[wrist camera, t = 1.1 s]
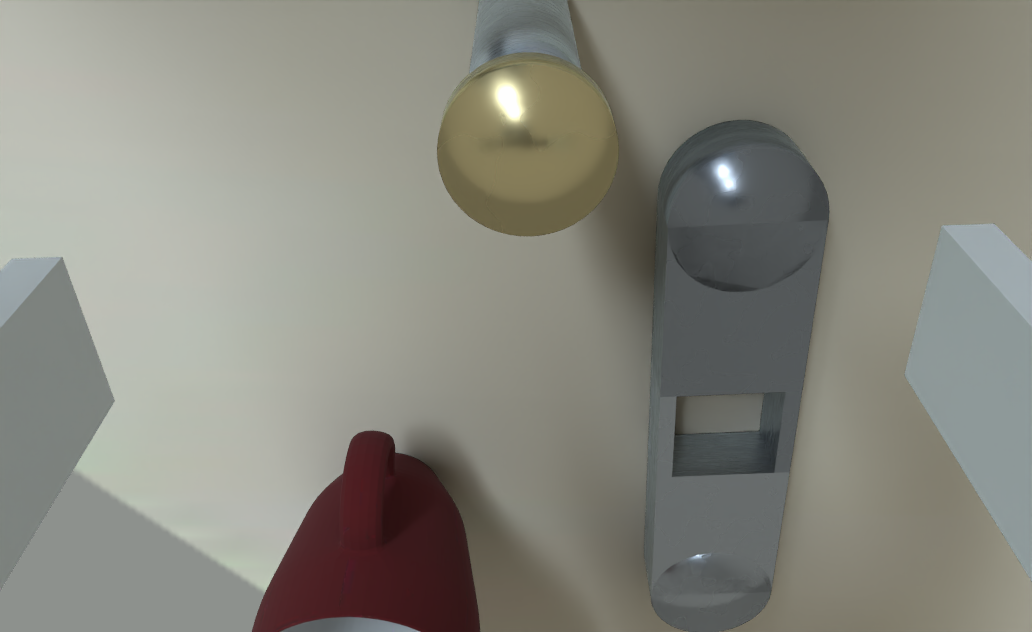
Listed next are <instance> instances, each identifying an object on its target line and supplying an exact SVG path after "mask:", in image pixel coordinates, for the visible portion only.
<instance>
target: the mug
mask: <svg viewBox="0 0 1032 632" xmlns="http://www.w3.org/2000/svg"><path fill="white" fill-rule="evenodd" d="M252 632H480V623H479V613H478V606H477V599H476V593H475V587H474V581H473V575H472V569H471V563H470V557H469V551H468V544H467V538H466V533H465V529H464V525H463V521H462V518H461V516H460V513H459V511H458V509H457V507H456V505H455V503H454V501H453V500H452V498H451V496H450V495H449V493H448V492H447V490H446V489H445V487H444V486H443V485H442V483H441V482H440V480H439V479H438V477H437V476H436V475H435V473H434V472H433V471H432V470H431V469H430V468H429V467H428V466H427V465H426V464H424V463H423V462H421V461H420V460H418V459H416V458H414V457H411V456H408V455H404V454H399V453H395V444H394V440H393V438H392V437H391V436H390V435H389V434H386V433H384V432H380V431H364V432H361V433H358V434H357V435H356V436H354V437H353V439H352V440H351V442H350V445H349V448H348V452H347V457H346V461H345V466H344V472H343V474H342V475H340V476H339V477H338V478H337V479H335V480H334V481H333V482H332V483H331V484H330V485H329V486H328V487H326V488H325V489H324V491H323V492H322V493H321V494H320V495H319V496H318V497H317V499H316V500H315V501H314V503H313V504H312V506H311V507H310V509H309V511H308V512H307V514H306V516H305V518H304V520H303V522H302V523H301V525H300V527H299V529H298V531H297V533H296V535H295V537H294V539H293V540H292V542H291V544H290V546H289V548H288V550H287V552H286V554H285V555H284V557H283V559H282V561H281V563H280V565H279V567H278V569H277V571H276V572H275V574H274V576H273V578H272V580H271V582H270V584H269V586H268V588H267V590H266V592H265V595H264V597H263V599H262V602H261V604H260V607H259V610H258V613H257V616H256V619H255V622H254V626H253V629H252Z"/></svg>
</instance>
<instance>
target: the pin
mask: <svg viewBox="0 0 1032 632" xmlns="http://www.w3.org/2000/svg"><path fill="white" fill-rule="evenodd" d="M618 156H619V144H618V136H617V131H616V127H615V123H614V119H613V115H612V112H611V109H610V106H609V104H608V102H607V100H606V98H605V96H604V94H603V92H602V91H601V89H600V88H599V87H598V85H597V84H596V83H595V82H594V81H593V80H592V78H591V77H590V76H589V75H587V74H586V73H585V72H584V71H583V70H581V65H580V60H579V55H578V51H577V46H576V41H575V36H574V31H573V27H572V22H571V17H570V12H569V7H568V3H567V0H479V6H478V13H477V21H476V28H475V35H474V42H473V49H472V56H471V64H470V71H469V74H468V75H467V76H466V77H465V78H464V79H463V80H462V81H461V82H460V84H459V85H458V86H457V88H456V89H455V90H454V92H453V93H452V95H451V97H450V99H449V100H448V103H447V105H446V108H445V110H444V113H443V117H442V121H441V126H440V131H439V137H438V145H437V158H438V165H439V171H440V174H441V177H442V180H443V183H444V185H445V187H446V189H447V191H448V193H449V194H450V196H451V197H452V199H453V200H454V202H455V203H456V204H457V205H458V206H459V207H460V208H461V209H462V210H463V211H464V212H465V213H466V214H467V215H468V216H469V217H471V218H472V219H474V220H475V221H477V222H478V223H480V224H482V225H484V226H485V227H487V228H490V229H492V230H495V231H498V232H501V233H505V234H509V235H516V236H538V235H545V234H550V233H554V232H557V231H560V230H563V229H565V228H567V227H569V226H571V225H573V224H575V223H577V222H578V221H580V220H581V219H583V218H584V217H585V216H587V215H588V214H589V213H590V212H591V211H593V209H594V208H595V207H596V206H597V205H598V204H599V203H600V202H601V200H602V199H603V198H604V196H605V195H606V193H607V191H608V190H609V188H610V186H611V184H612V181H613V179H614V176H615V173H616V169H617V164H618Z"/></svg>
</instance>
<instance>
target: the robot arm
mask: <svg viewBox="0 0 1032 632" xmlns="http://www.w3.org/2000/svg"><path fill="white" fill-rule="evenodd" d="M904 375H905V377H906V379H907V380H908V382H909V383H910V385H911V387H912V388H913V390H914V392H915V393H916V395H917V396H918V398H919V400H920V401H921V403H922V405H923V406H924V408H925V409H926V411H927V413H928V414H929V416H930V417H931V419H932V421H933V422H934V424H935V426H936V427H937V429H938V430H939V432H940V434H941V435H942V437H943V439H944V440H945V442H946V443H947V445H948V447H949V448H950V450H951V452H952V453H953V455H954V456H955V458H956V460H957V461H958V463H959V464H960V466H961V468H962V469H963V471H964V473H965V474H966V476H967V477H968V479H969V481H970V482H971V484H972V486H973V487H974V489H975V490H976V492H977V494H978V495H979V497H980V499H981V500H982V502H983V503H984V505H985V507H986V508H987V510H988V511H989V513H990V515H991V516H992V518H993V520H994V521H995V523H996V524H997V526H998V528H999V529H1000V531H1001V533H1002V534H1003V536H1004V537H1005V539H1006V541H1007V542H1008V544H1009V546H1010V547H1011V549H1012V550H1013V552H1014V554H1015V555H1016V557H1017V559H1018V560H1019V562H1020V563H1021V565H1022V567H1023V568H1024V570H1025V571H1026V573H1027V575H1028V576H1029V578H1030V580H1031V581H1032V261H1031V260H1030V259H1029V258H1028V257H1027V256H1026V255H1025V254H1024V253H1023V252H1022V251H1021V250H1020V249H1019V248H1018V247H1017V246H1016V245H1015V244H1014V243H1013V242H1012V241H1011V240H1010V239H1009V238H1008V237H1007V236H1006V235H1005V234H1004V233H1003V232H1002V231H1001V230H1000V229H999V228H998V227H997V226H996V225H995V224H972V225H944V226H942V227H941V231H940V235H939V239H938V243H937V247H936V251H935V255H934V259H933V263H932V267H931V271H930V275H929V279H928V283H927V287H926V291H925V295H924V299H923V303H922V307H921V311H920V315H919V319H918V323H917V327H916V331H915V335H914V339H913V342H912V346H911V350H910V354H909V358H908V362H907V366H906V370H905V374H904ZM114 401H115V400H114V397H113V395H112V392H111V389H110V386H109V384H108V381H107V378H106V375H105V373H104V370H103V367H102V365H101V362H100V359H99V356H98V354H97V351H96V348H95V345H94V343H93V340H92V337H91V334H90V332H89V329H88V326H87V323H86V321H85V318H84V315H83V313H82V310H81V307H80V304H79V302H78V299H77V296H76V293H75V291H74V288H73V285H72V282H71V280H70V277H69V274H68V271H67V269H66V266H65V263H64V260H63V258H62V257H49V258H21V259H11V260H10V261H9V262H8V263H7V264H6V265H5V266H4V268H3V269H2V270H1V271H0V591H1V589H2V587H3V586H4V584H5V582H6V581H7V579H8V577H9V576H10V574H11V572H12V571H13V569H14V567H15V566H16V564H17V562H18V561H19V559H20V557H21V556H22V554H23V553H24V551H25V549H26V548H27V546H28V544H29V543H30V541H31V539H32V538H33V536H34V534H35V532H36V531H37V529H38V528H39V526H40V524H41V523H42V521H43V519H44V518H45V516H46V514H47V513H48V511H49V509H50V508H51V506H52V504H53V503H54V501H55V499H56V498H57V496H58V494H59V493H60V491H61V489H62V488H63V486H64V484H65V483H66V481H67V479H68V478H69V476H70V474H71V473H72V471H73V469H74V468H75V466H76V464H77V463H78V461H79V459H80V458H81V456H82V454H83V453H84V451H85V449H86V448H87V446H88V444H89V443H90V441H91V440H92V438H93V436H94V435H95V433H96V431H97V430H98V428H99V426H100V425H101V423H102V421H103V420H104V418H105V416H106V415H107V413H108V411H109V410H110V408H111V406H112V405H113V403H114Z"/></svg>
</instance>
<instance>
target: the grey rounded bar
mask: <svg viewBox="0 0 1032 632" xmlns="http://www.w3.org/2000/svg"><path fill="white" fill-rule="evenodd" d="M828 221H829V201H828V196H827V192H826V190H825V187H824V185H823V183H822V181H821V179H820V178H819V176H818V175H817V173H816V172H815V170H814V169H813V168H812V166H811V165H810V163H809V162H808V161H807V159H806V158H805V156H804V155H803V154H802V152H801V151H800V149H799V148H798V147H797V145H796V144H795V143H794V142H793V141H792V139H791V138H789V137H788V136H787V135H786V134H785V133H783V132H782V131H780V130H779V129H777V128H775V127H773V126H770V125H768V124H765V123H761V122H757V121H750V120H736V121H728V122H723V123H719V124H716V125H713V126H711V127H708V128H706V129H704V130H702V131H700V132H698V133H697V134H695V135H694V136H692V137H691V138H689V139H688V140H687V141H686V142H684V143H683V144H682V145H681V146H680V147H679V148H678V149H677V150H676V151H675V153H674V154H673V155H672V157H671V158H670V160H669V161H668V163H667V165H666V167H665V168H664V171H663V173H662V176H661V179H660V183H659V187H658V199H657V225H656V252H655V278H654V304H653V331H652V357H651V384H650V410H649V436H648V463H647V489H646V516H645V542H644V558H645V565H646V571H647V577H648V583H649V589H650V596H651V602H652V606H653V608H654V610H655V612H656V613H657V615H658V616H659V617H660V618H661V619H662V620H663V621H665V622H666V623H667V624H669V625H671V626H673V627H675V628H678V629H681V630H684V631H689V632H719V631H724V630H729V629H732V628H735V627H737V626H740V625H742V624H744V623H746V622H748V621H749V620H751V619H752V618H754V617H755V616H756V615H757V614H758V613H760V612H761V610H762V609H763V608H764V607H765V605H766V604H767V602H768V600H769V598H770V594H771V589H772V583H773V576H774V570H775V563H776V557H777V550H778V544H779V537H780V531H781V525H782V518H783V512H784V505H785V499H786V492H787V486H788V479H789V473H790V466H791V460H792V453H793V447H794V440H795V434H796V428H797V421H798V415H799V408H800V402H801V395H802V389H803V382H804V376H805V369H806V363H807V356H808V350H809V343H810V337H811V331H812V324H813V318H814V311H815V305H816V298H817V292H818V285H819V279H820V272H821V266H822V259H823V253H824V246H825V240H826V234H827V227H828ZM748 393H764V398H763V406H762V414H761V422H760V430H759V431H757V432H733V433H708V434H684V435H674V433H675V416H676V399H677V396H700V395H724V394H748Z"/></svg>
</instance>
